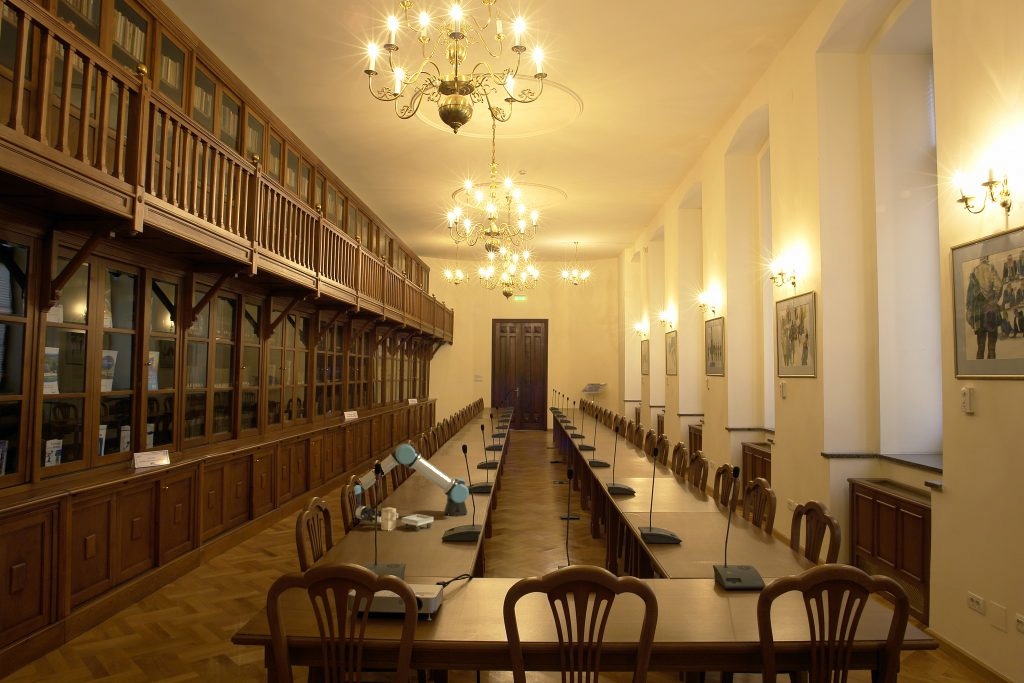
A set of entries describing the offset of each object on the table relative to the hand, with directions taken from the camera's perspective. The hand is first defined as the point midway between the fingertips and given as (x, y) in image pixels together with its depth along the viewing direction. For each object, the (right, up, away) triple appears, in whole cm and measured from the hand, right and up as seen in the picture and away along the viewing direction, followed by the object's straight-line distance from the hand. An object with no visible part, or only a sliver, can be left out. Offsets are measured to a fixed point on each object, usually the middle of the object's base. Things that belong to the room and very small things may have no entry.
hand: (389, 517), depth 391 cm
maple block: (-1, -7, 0) cm, 7 cm away
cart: (+16, -7, +3) cm, 18 cm away
